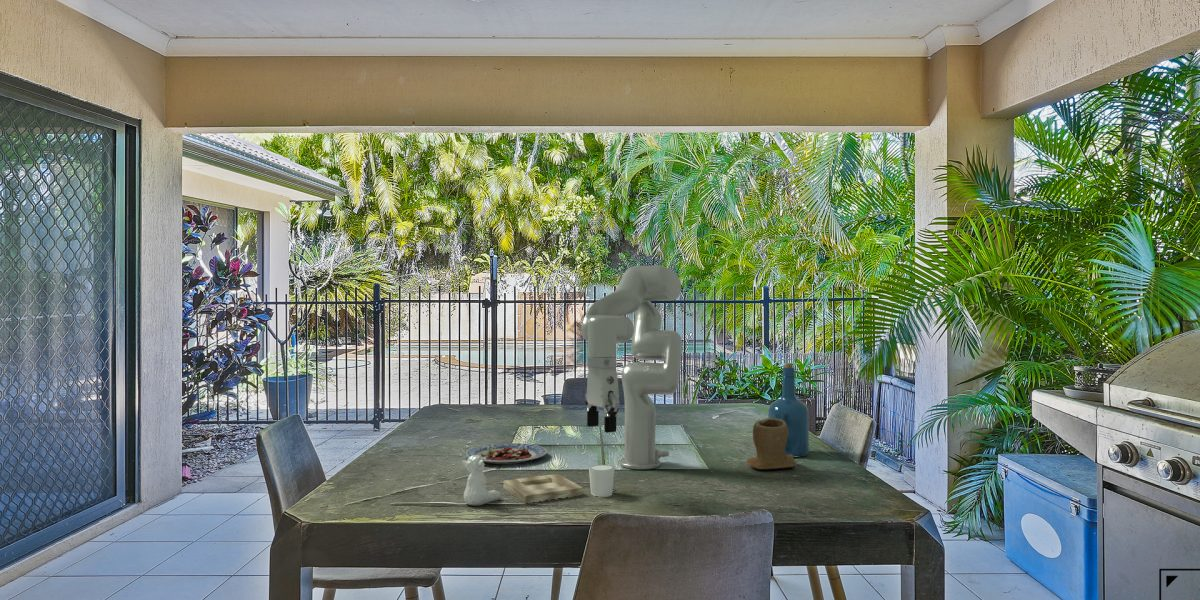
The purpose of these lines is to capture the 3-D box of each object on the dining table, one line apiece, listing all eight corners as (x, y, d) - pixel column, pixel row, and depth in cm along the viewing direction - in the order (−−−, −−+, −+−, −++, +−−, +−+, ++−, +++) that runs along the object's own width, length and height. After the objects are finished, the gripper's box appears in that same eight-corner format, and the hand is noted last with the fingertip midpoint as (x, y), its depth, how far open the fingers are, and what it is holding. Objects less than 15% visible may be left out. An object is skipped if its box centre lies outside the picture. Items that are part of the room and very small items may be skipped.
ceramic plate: (562, 455, 223) (562, 446, 223) (512, 472, 201) (512, 462, 201) (502, 446, 237) (502, 437, 237) (448, 461, 215) (449, 451, 215)
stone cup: (758, 474, 199) (758, 423, 199) (742, 464, 210) (742, 416, 210) (806, 472, 201) (806, 421, 201) (788, 462, 213) (788, 415, 213)
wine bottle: (814, 458, 219) (814, 365, 219) (773, 458, 219) (773, 365, 219) (802, 449, 233) (802, 361, 233) (763, 448, 233) (763, 361, 233)
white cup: (612, 498, 174) (612, 471, 174) (585, 496, 176) (586, 469, 176) (616, 491, 181) (616, 464, 181) (591, 489, 183) (591, 463, 182)
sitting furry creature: (501, 498, 174) (501, 451, 174) (488, 508, 166) (489, 459, 166) (467, 496, 176) (467, 449, 176) (452, 505, 168) (453, 457, 168)
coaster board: (557, 480, 191) (557, 473, 191) (582, 495, 177) (582, 487, 177) (503, 488, 184) (503, 480, 184) (525, 503, 170) (525, 495, 170)
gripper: (630, 365, 172) (630, 433, 172) (599, 360, 188) (598, 422, 188) (604, 366, 169) (604, 435, 169) (574, 361, 184) (574, 424, 184)
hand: (601, 428), depth 178 cm, fingers open, 9 cm apart
